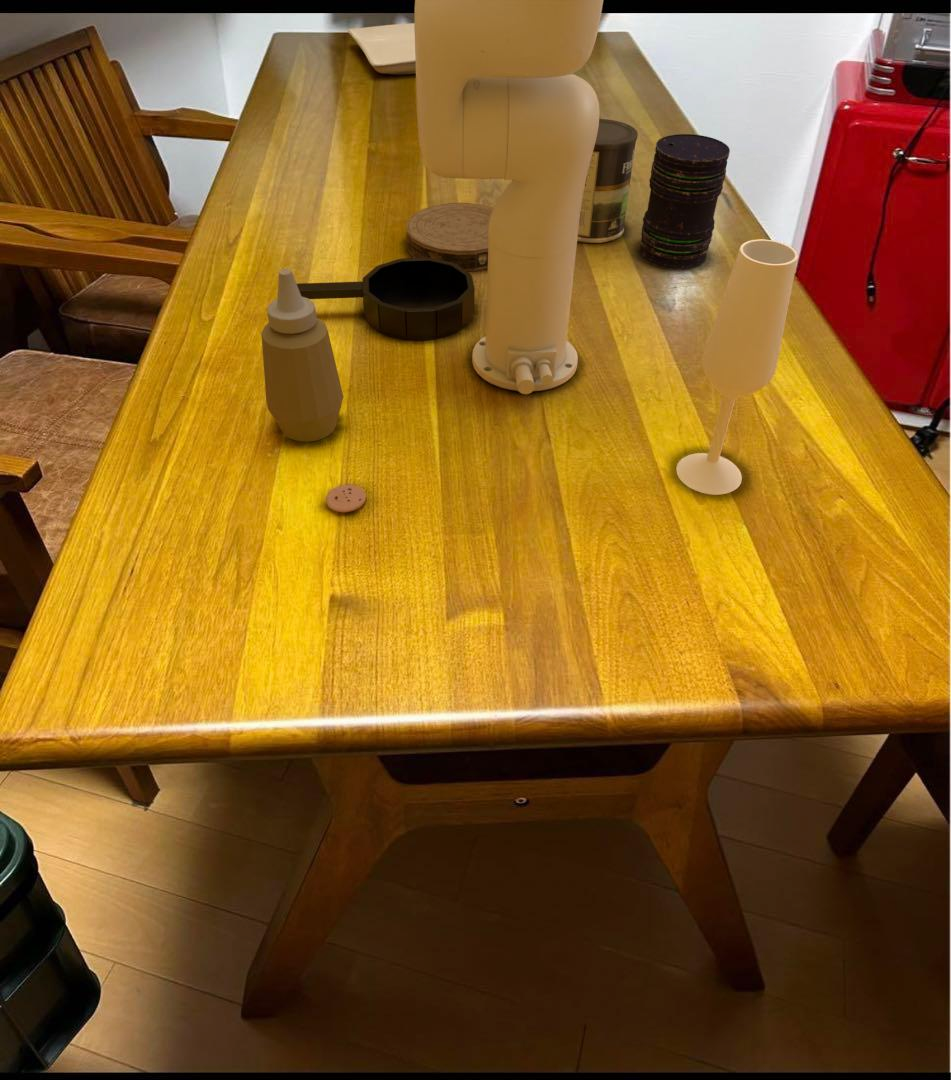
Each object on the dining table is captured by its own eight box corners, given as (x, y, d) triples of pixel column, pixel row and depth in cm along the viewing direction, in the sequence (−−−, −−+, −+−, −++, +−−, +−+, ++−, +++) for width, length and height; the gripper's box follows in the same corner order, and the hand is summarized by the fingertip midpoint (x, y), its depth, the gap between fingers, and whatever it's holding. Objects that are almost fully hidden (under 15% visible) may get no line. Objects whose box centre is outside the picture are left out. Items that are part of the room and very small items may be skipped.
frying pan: (478, 338, 105) (478, 309, 102) (282, 345, 103) (278, 316, 100) (468, 283, 115) (468, 255, 112) (289, 289, 113) (285, 261, 110)
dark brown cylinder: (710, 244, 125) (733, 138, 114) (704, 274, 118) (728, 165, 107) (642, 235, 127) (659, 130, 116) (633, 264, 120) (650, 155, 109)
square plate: (347, 46, 195) (346, 26, 192) (461, 38, 201) (461, 19, 198) (373, 81, 176) (372, 61, 174) (497, 72, 182) (498, 52, 180)
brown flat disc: (518, 224, 129) (519, 205, 126) (513, 274, 117) (514, 253, 115) (414, 219, 129) (413, 200, 127) (400, 268, 118) (399, 248, 116)
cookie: (375, 499, 83) (374, 492, 83) (344, 520, 81) (343, 512, 80) (348, 482, 85) (347, 474, 84) (317, 502, 83) (316, 494, 82)
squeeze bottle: (311, 396, 96) (288, 244, 83) (362, 424, 92) (346, 269, 80) (255, 429, 91) (223, 273, 79) (306, 459, 88) (281, 302, 75)
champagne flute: (662, 472, 87) (711, 251, 70) (700, 444, 91) (755, 227, 74) (717, 504, 84) (783, 279, 67) (754, 474, 87) (825, 253, 70)
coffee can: (626, 217, 131) (640, 121, 121) (621, 246, 124) (635, 147, 114) (560, 210, 132) (568, 115, 122) (551, 239, 125) (559, 140, 115)
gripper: (487, -191, 100) (484, -10, 113) (502, -179, 90) (497, 19, 102) (550, -190, 101) (539, -11, 114) (572, -178, 90) (558, 18, 103)
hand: (519, 3), depth 108 cm, fingers closed
